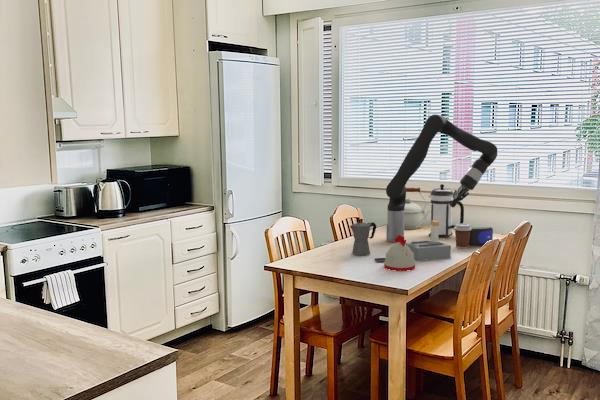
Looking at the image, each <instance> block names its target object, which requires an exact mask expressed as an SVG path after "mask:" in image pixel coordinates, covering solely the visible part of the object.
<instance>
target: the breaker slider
mask: <svg viewBox="0 0 600 400" xmlns="http://www.w3.org/2000/svg"><path fill="white" fill-rule="evenodd" d="M429 225H431V231H430V232H431V235H430V239H429V240H428V239H427V240H428V242H429V243H431V244H434V243H441V242H442V241H440V240H439V236H440V235H439V222H438V221H435V220H432V221H431V220H430V224H429Z"/></svg>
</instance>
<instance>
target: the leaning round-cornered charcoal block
mask: <svg viewBox="0 0 600 400" xmlns="http://www.w3.org/2000/svg"><path fill="white" fill-rule="evenodd" d="M471 228H472V230H471V231H470V239H469V246H470V247H483V246H482V245H484V244H485V243H486V242H487V241H489V240H492V241H493V238H494V237H493V233H494V229H493V227H491V226H485V227H483V226H482V227H481V226H480V227H471Z"/></svg>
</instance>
